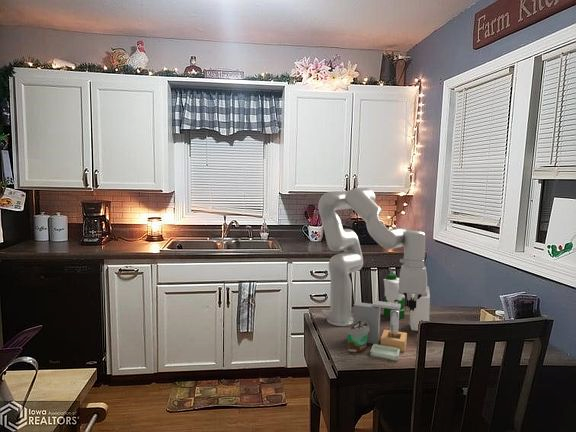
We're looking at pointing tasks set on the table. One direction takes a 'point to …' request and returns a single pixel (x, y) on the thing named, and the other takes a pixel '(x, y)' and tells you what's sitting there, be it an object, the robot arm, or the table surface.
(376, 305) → the keeper plate
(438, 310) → the table surface
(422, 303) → the milk carton
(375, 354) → the tray
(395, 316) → the pin
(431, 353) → the table surface
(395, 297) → the soya milk
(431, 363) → the table surface
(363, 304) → the hitch
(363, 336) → the food container
